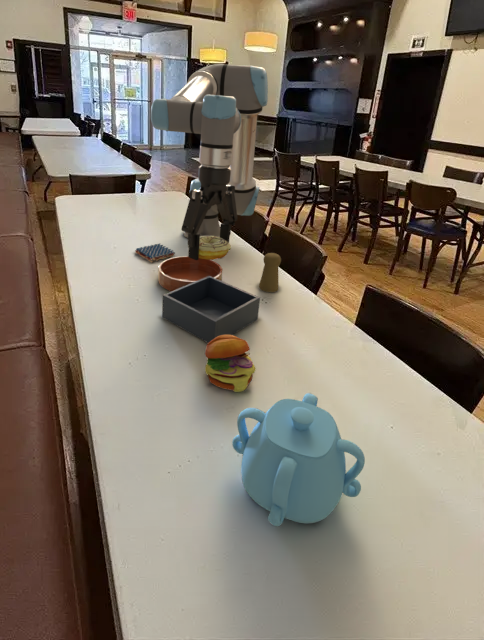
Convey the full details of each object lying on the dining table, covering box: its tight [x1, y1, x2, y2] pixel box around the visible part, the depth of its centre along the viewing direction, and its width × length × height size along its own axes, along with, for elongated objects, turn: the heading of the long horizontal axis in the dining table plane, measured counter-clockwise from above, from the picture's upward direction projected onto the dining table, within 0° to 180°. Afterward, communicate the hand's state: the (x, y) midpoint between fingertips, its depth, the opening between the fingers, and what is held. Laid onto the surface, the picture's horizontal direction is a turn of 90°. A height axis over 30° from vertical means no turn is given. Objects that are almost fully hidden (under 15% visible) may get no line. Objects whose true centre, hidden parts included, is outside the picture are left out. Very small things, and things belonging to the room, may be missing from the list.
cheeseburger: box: [204, 334, 257, 393], centre depth 85 cm, size 10×11×10 cm
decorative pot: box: [231, 392, 366, 527], centre depth 61 cm, size 16×16×14 cm
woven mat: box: [134, 243, 176, 264], centre depth 144 cm, size 10×11×2 cm
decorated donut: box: [187, 236, 232, 261], centre depth 104 cm, size 10×11×4 cm
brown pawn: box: [258, 252, 282, 293], centre depth 125 cm, size 6×6×11 cm
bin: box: [161, 276, 261, 344], centre depth 106 cm, size 18×18×6 cm
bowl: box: [157, 255, 223, 292], centre depth 126 cm, size 19×19×4 cm
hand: (209, 253), depth 105 cm, fingers closed on decorated donut, 11 cm apart
